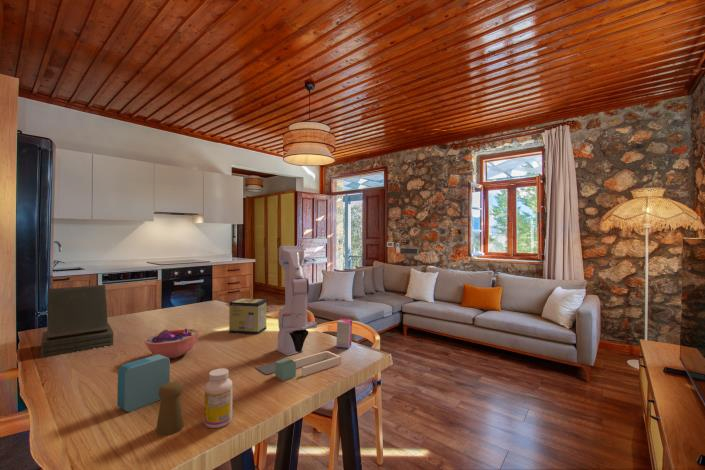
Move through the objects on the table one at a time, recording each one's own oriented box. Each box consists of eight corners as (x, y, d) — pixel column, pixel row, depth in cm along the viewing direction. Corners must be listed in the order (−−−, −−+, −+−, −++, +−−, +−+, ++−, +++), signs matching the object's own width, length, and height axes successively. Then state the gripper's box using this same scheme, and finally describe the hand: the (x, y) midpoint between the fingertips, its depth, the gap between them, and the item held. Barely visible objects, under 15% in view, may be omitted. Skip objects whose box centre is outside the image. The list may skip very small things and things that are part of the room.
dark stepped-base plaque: (40, 358, 128) (41, 294, 128) (42, 346, 142) (43, 288, 143) (113, 346, 143) (114, 288, 143) (108, 336, 157) (109, 283, 158)
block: (275, 376, 113) (275, 361, 113) (287, 372, 116) (288, 358, 116) (282, 380, 109) (282, 365, 109) (295, 376, 112) (295, 362, 112)
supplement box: (349, 349, 141) (349, 322, 141) (335, 348, 142) (336, 321, 142) (352, 345, 146) (352, 319, 146) (339, 344, 147) (339, 318, 148)
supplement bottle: (211, 414, 88) (212, 366, 88) (236, 415, 88) (236, 366, 88) (199, 429, 81) (199, 376, 81) (225, 429, 81) (226, 377, 81)
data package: (161, 392, 100) (162, 352, 100) (169, 396, 98) (170, 355, 98) (116, 409, 90) (117, 365, 90) (124, 414, 88) (125, 369, 88)
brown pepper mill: (189, 424, 83) (189, 380, 83) (168, 438, 77) (169, 391, 78) (171, 419, 85) (171, 377, 85) (149, 432, 79) (150, 387, 80)
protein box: (238, 327, 173) (238, 298, 173) (266, 329, 171) (267, 299, 171) (228, 333, 162) (228, 301, 163) (258, 334, 160) (258, 303, 160)
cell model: (208, 351, 136) (209, 324, 136) (163, 369, 118) (163, 337, 118) (180, 345, 143) (181, 319, 143) (133, 361, 125) (134, 331, 125)
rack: (290, 369, 119) (290, 361, 119) (327, 357, 130) (327, 350, 130) (303, 376, 113) (303, 368, 113) (341, 363, 124) (341, 356, 124)
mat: (255, 368, 119) (255, 367, 119) (275, 362, 125) (275, 362, 125) (266, 375, 113) (266, 374, 113) (286, 369, 119) (286, 368, 119)
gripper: (287, 318, 109) (286, 359, 108) (322, 311, 118) (321, 349, 118) (276, 314, 114) (275, 353, 114) (310, 308, 124) (310, 344, 123)
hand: (298, 351), depth 116 cm, fingers closed
